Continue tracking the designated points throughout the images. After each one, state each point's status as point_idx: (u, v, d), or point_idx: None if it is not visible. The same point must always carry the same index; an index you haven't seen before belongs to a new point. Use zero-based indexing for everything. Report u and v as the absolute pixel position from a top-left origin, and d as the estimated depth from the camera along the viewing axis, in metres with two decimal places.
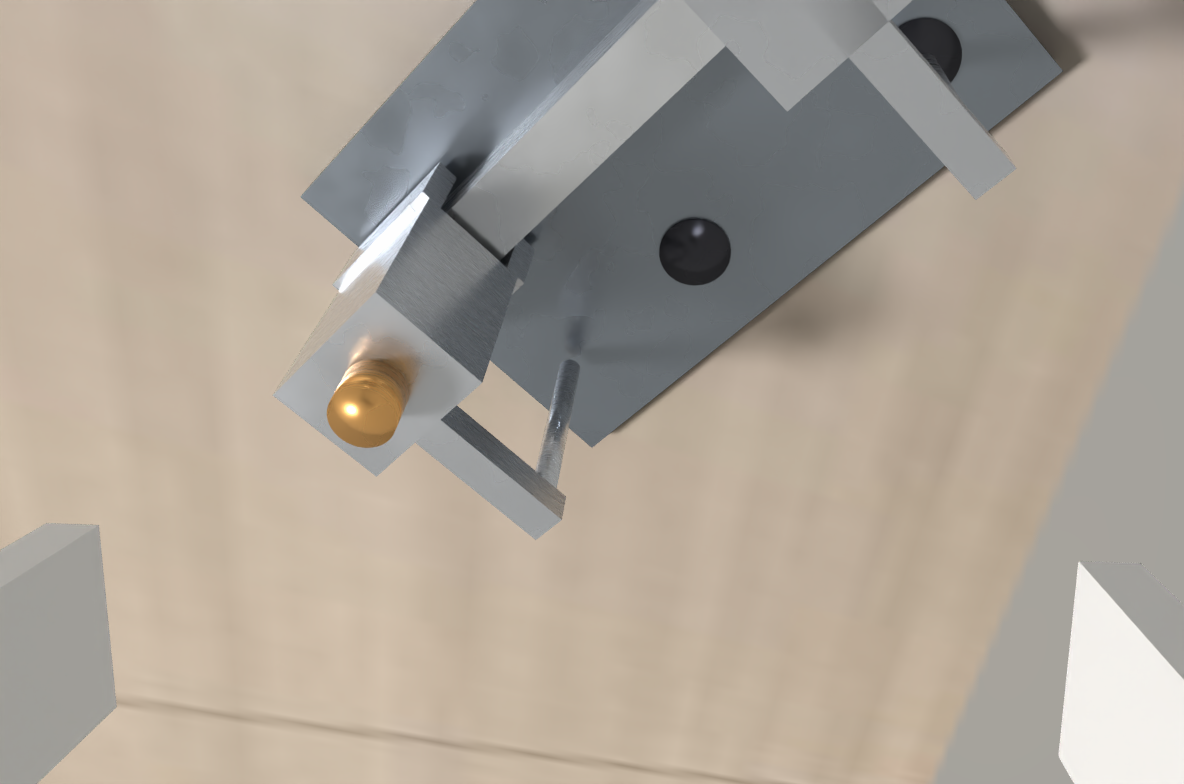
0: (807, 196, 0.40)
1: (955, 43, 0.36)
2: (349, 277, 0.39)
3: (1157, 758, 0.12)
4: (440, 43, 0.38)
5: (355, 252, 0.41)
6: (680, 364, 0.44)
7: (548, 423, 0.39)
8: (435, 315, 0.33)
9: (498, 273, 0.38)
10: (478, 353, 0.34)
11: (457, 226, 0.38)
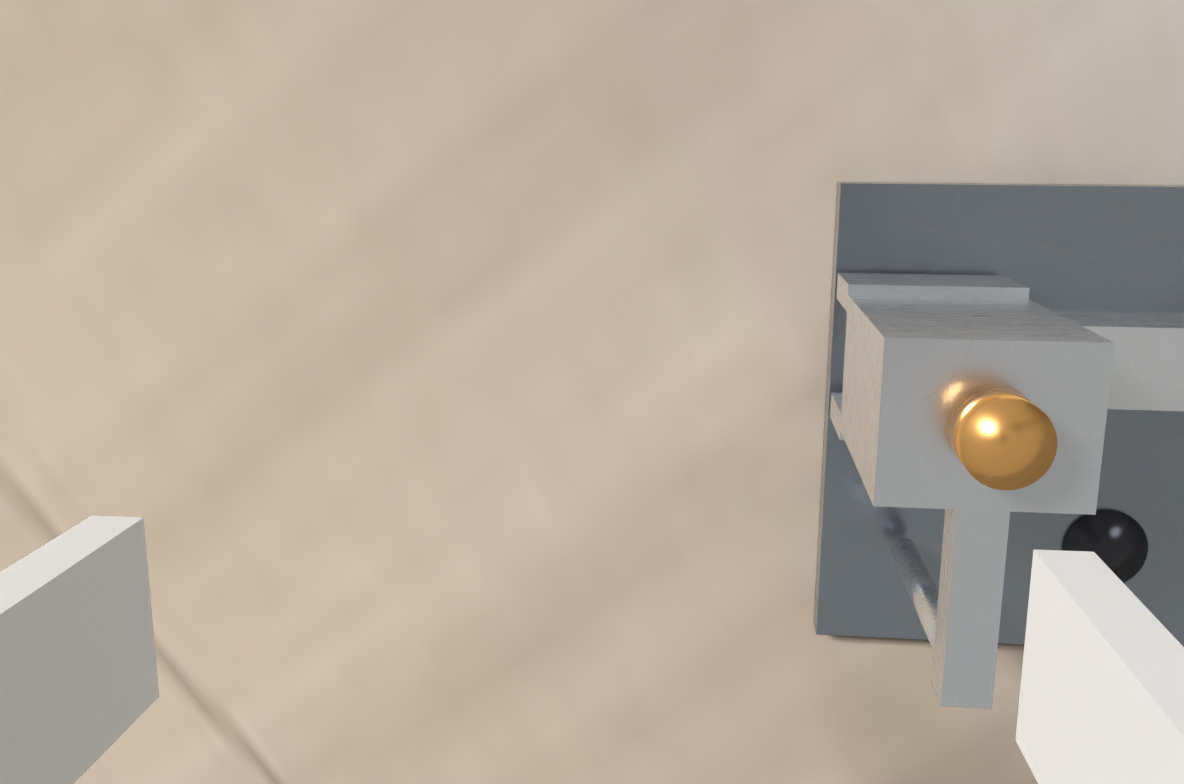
0: None
1: None
2: (872, 293, 0.32)
3: (1100, 736, 0.12)
4: (1110, 188, 0.34)
5: (852, 275, 0.34)
6: None
7: (930, 590, 0.32)
8: None
9: None
10: None
11: None
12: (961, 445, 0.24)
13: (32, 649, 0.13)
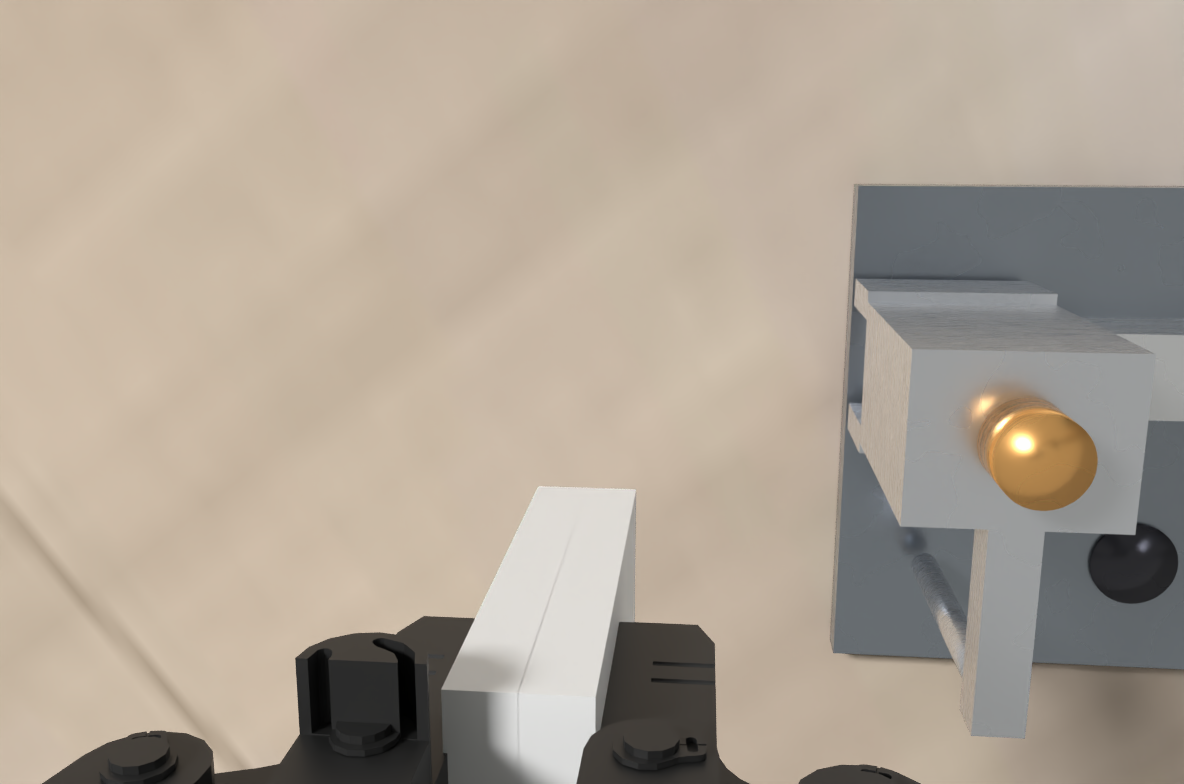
0: None
1: None
2: (893, 300, 0.31)
3: None
4: (1139, 189, 0.33)
5: (870, 281, 0.33)
6: None
7: (954, 610, 0.31)
8: None
9: None
10: None
11: None
12: (995, 463, 0.23)
13: None
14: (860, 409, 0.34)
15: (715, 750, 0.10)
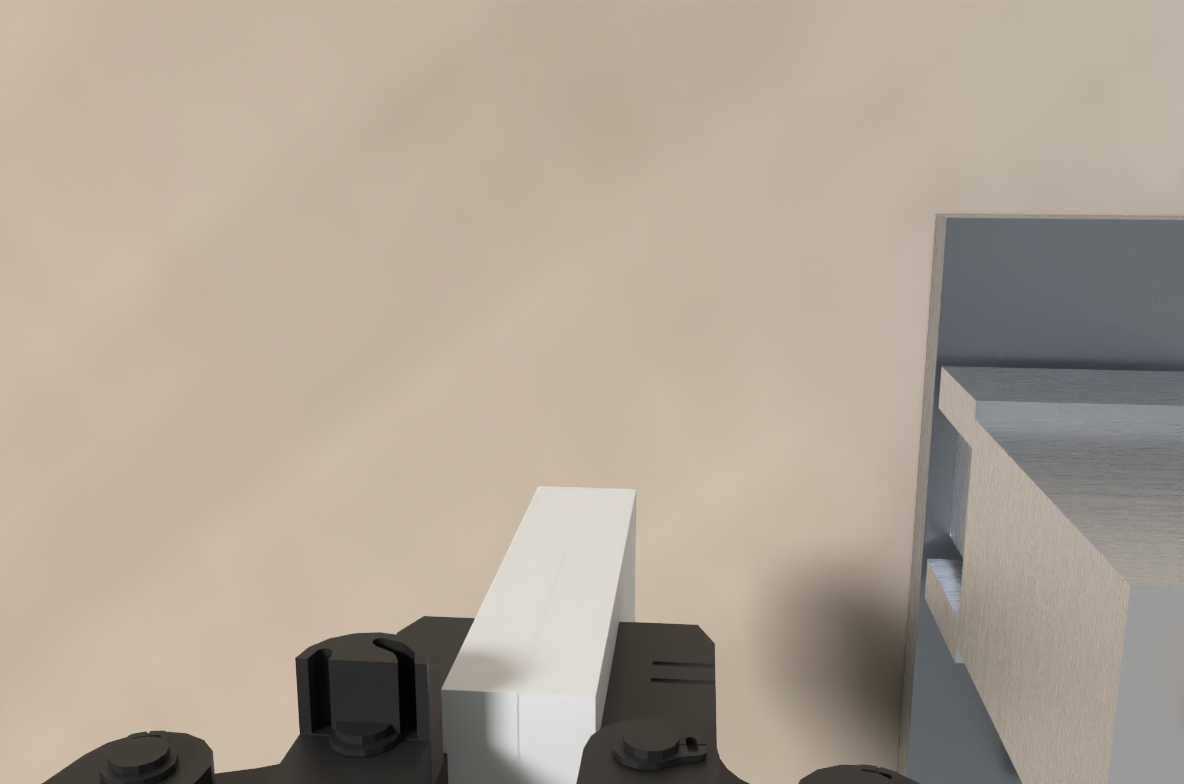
0: None
1: None
2: (1017, 416, 0.18)
3: None
4: None
5: (968, 373, 0.20)
6: None
7: None
8: None
9: None
10: None
11: None
12: None
13: None
14: (949, 575, 0.21)
15: (715, 750, 0.10)
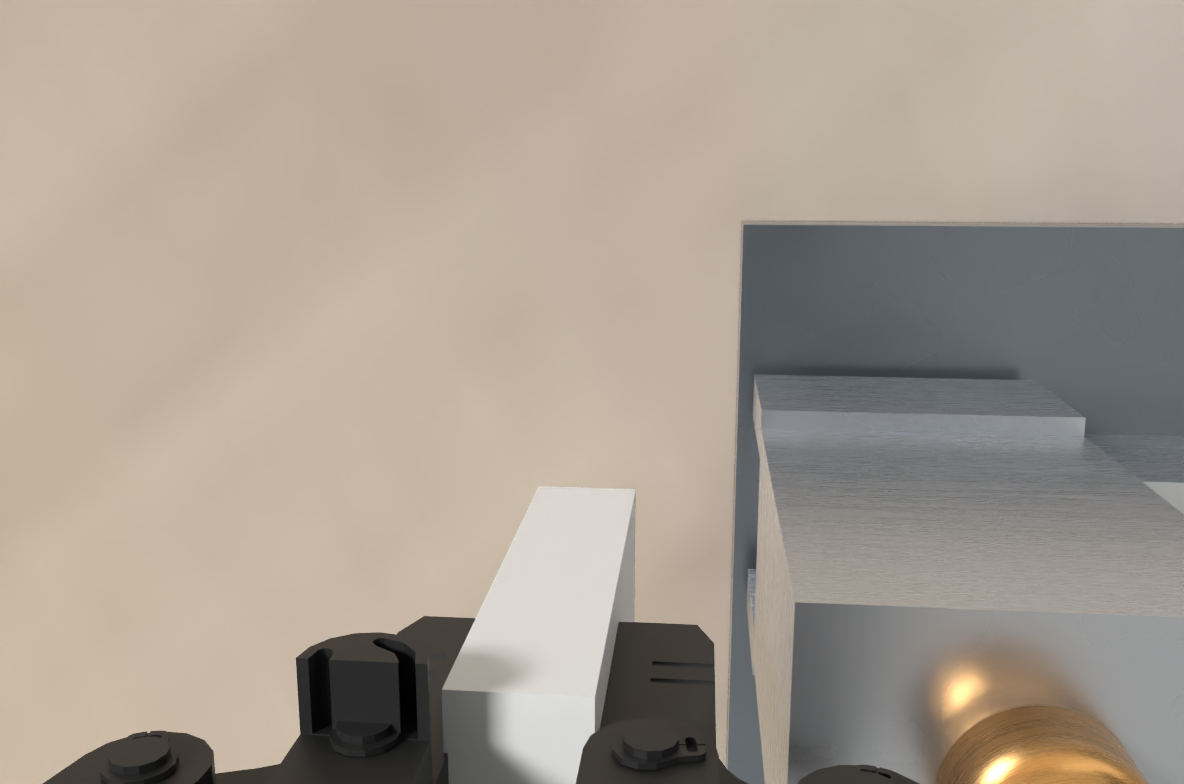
0: None
1: None
2: (803, 425, 0.18)
3: None
4: None
5: (775, 382, 0.20)
6: None
7: None
8: None
9: None
10: None
11: None
12: None
13: None
14: None
15: (714, 750, 0.10)
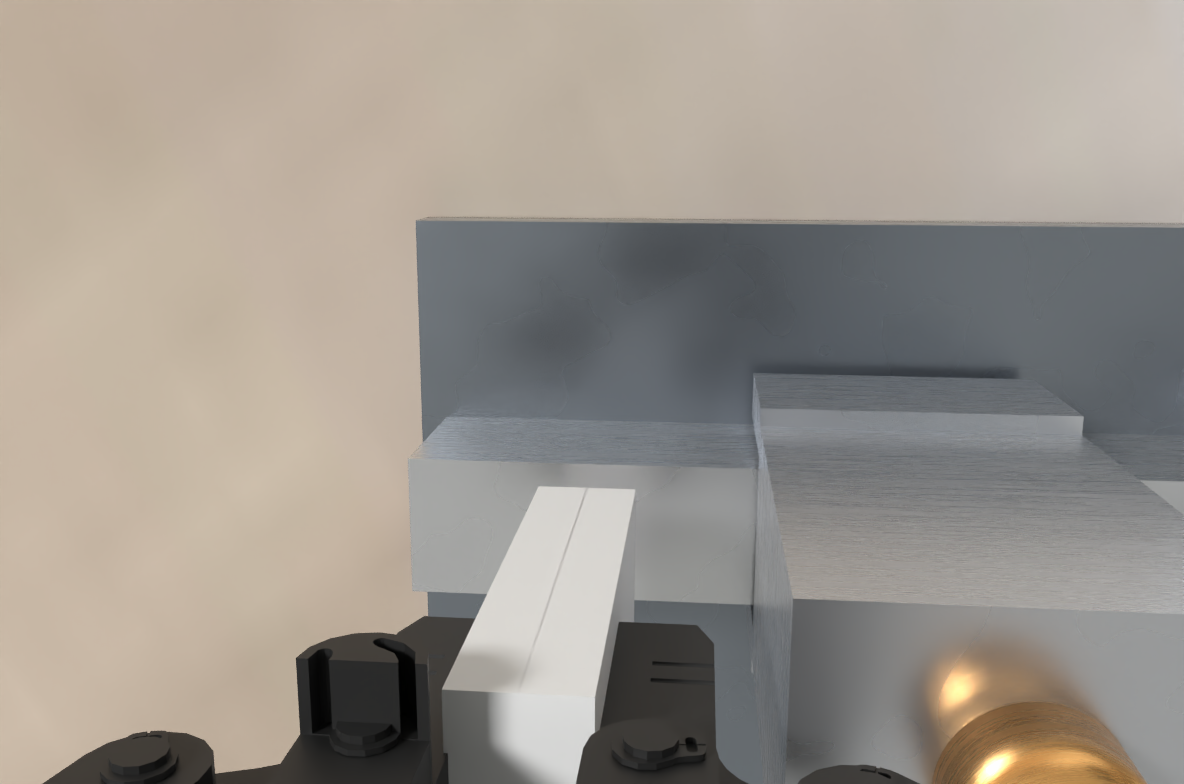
0: None
1: None
2: (802, 424, 0.18)
3: None
4: (846, 227, 0.21)
5: (775, 380, 0.20)
6: None
7: None
8: None
9: None
10: None
11: None
12: None
13: None
14: None
15: (714, 750, 0.10)
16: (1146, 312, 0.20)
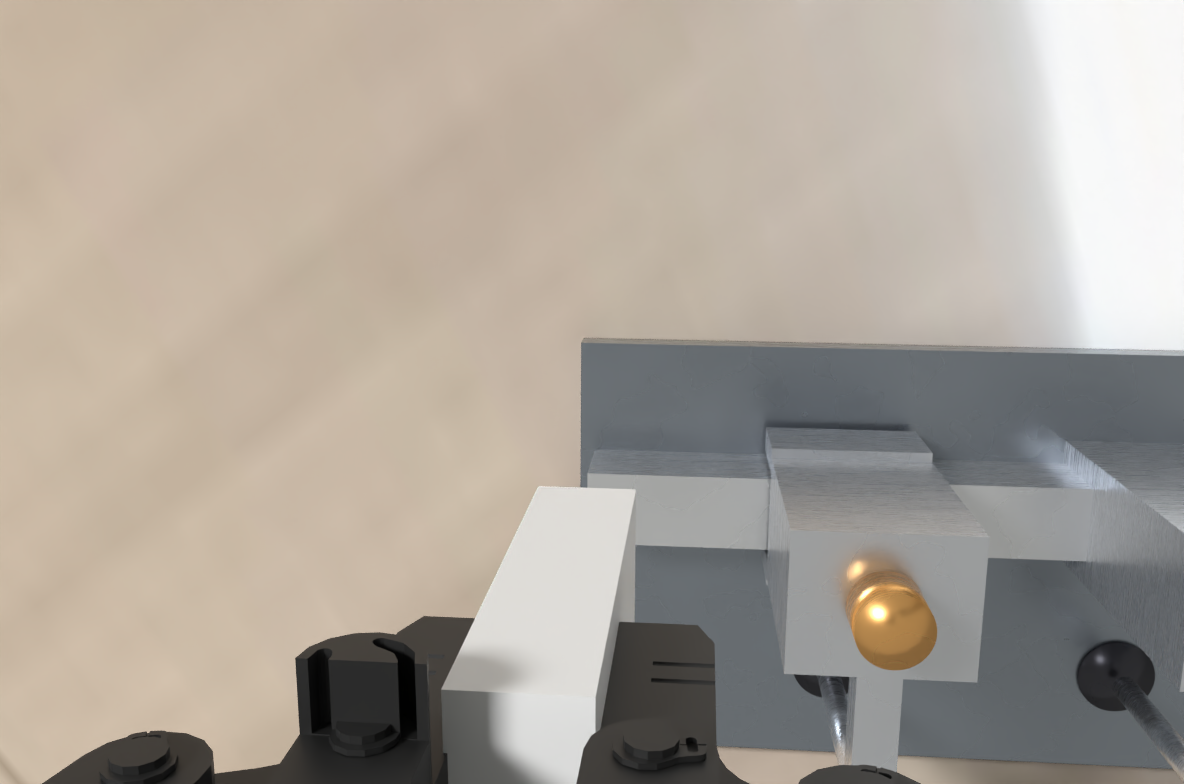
0: (947, 698, 0.41)
1: (1147, 687, 0.40)
2: (793, 456, 0.36)
3: None
4: (816, 349, 0.38)
5: (778, 432, 0.38)
6: (723, 736, 0.42)
7: (846, 724, 0.36)
8: None
9: None
10: None
11: None
12: (854, 632, 0.28)
13: None
14: None
15: (715, 750, 0.10)
16: (975, 395, 0.38)
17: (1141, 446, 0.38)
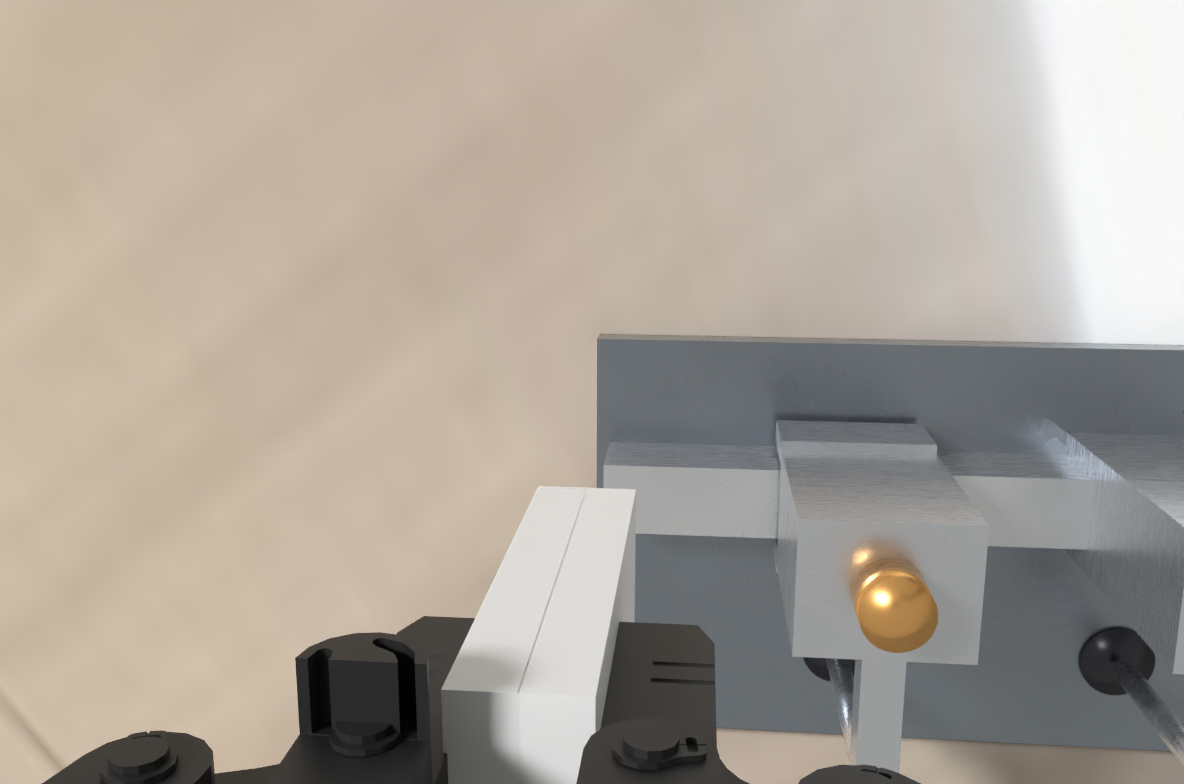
0: (953, 682, 0.42)
1: (1147, 672, 0.41)
2: (802, 448, 0.37)
3: None
4: (824, 344, 0.40)
5: (787, 424, 0.39)
6: (735, 718, 0.43)
7: None
8: None
9: None
10: None
11: None
12: (859, 616, 0.29)
13: None
14: None
15: (715, 750, 0.10)
16: (979, 389, 0.39)
17: (1141, 438, 0.39)
